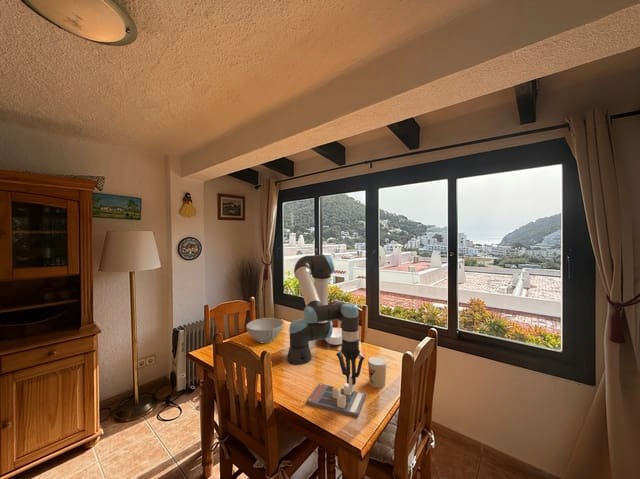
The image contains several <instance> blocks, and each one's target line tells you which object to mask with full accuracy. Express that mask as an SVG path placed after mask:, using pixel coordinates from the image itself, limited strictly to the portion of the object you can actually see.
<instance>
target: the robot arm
mask: <svg viewBox="0 0 640 479" xmlns="http://www.w3.org/2000/svg"><path fill="white" fill-rule="evenodd" d="M293 273H294V277H295V278H296V280H298V284H299V288H300V291H301V294H302V297H303V300H304V303H305V307H304V308H303V318H299V319H295V320H293V321H292V322H290V324H289V330H288V332H289V349H288V351H287V355H286V357H287V358H286V360H287V362H288V363H290V364H292V365H304V364H307V363H309V362H311V360H312V359H313V358H312V356H313V355H312V352H311V349H310V346H309V345H310V344H309V342H313V341H319V340H325V339H327V338H330V337H331V335H332V331H333V328H334V327H333V321H340V322H341V328H342V338H343V339H342V344H341V350H339V351H337V352H336V356H337V358H338V361H339V365H340V369H341V374H342V375H344V376H345V377H346V383H347V384H349V392H351V393H352V392H353V391H355V385H356V381H357V378H359V376H360V374H361V370H362V366H363V361H364V360H365V358H366V356H365V354H362V353H361V351H360V340H359V337H360V336H359V308H358V307H359V306H358V305H357V304H356V303H353V302H352V303H351V302H346V303H344V302H342V301H335V302H334V303H332V304H328V299H329V292H328V291H329V279H331V276H332V274H334V273H335V263H334V259H333V258H332V256H331V255H329V254H311V255H304V256H302V257H300V258H299V259H298V260H297V262H296V263H295V265H294V269H293ZM344 358H345V359H344ZM357 358H358V359H359V360H358V365H356V361H357ZM356 366H357V367H356ZM356 368H357V369H356Z"/></svg>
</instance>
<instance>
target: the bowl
mask: <svg viewBox="0 0 640 479" xmlns="http://www.w3.org/2000/svg"><path fill="white" fill-rule="evenodd" d="M342 339H343V338H342V327H333V331H332V335H331V337H330V338H327V339H324V340H325V342H327V344H329V345H333V346H340V345H342Z"/></svg>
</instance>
